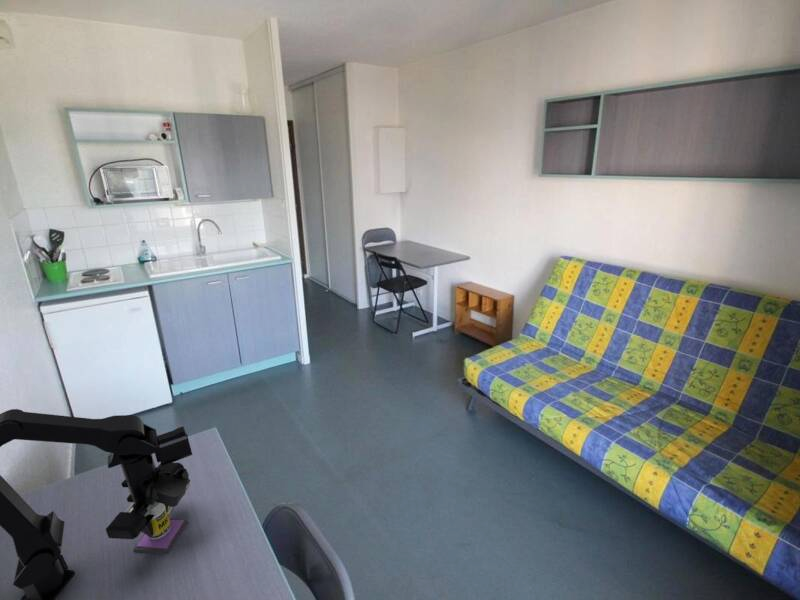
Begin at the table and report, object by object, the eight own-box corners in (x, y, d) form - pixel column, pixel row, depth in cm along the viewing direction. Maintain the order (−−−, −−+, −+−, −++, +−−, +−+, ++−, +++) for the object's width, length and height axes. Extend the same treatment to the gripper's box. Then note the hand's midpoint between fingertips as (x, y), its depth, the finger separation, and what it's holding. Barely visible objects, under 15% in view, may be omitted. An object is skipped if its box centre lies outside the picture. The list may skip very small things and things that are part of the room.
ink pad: (168, 553, 93) (166, 549, 93) (133, 551, 94) (132, 547, 94) (187, 522, 101) (186, 518, 100) (156, 521, 102) (154, 517, 101)
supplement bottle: (164, 540, 94) (154, 512, 91) (143, 540, 95) (133, 512, 92) (175, 521, 99) (166, 494, 96) (155, 521, 99) (146, 494, 96)
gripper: (148, 509, 81) (167, 566, 87) (199, 443, 98) (212, 494, 104) (94, 507, 82) (116, 563, 88) (153, 441, 99) (169, 492, 105)
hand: (158, 525), depth 96 cm, fingers closed on supplement bottle, 5 cm apart
